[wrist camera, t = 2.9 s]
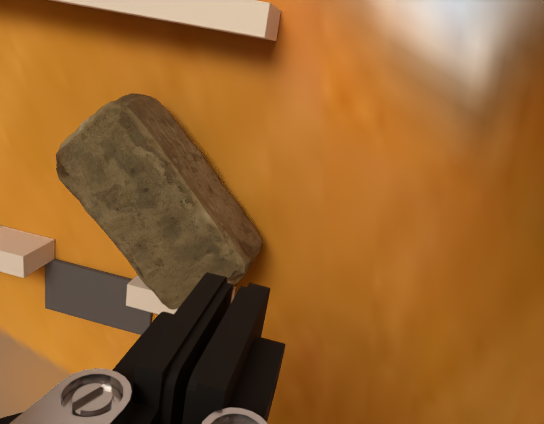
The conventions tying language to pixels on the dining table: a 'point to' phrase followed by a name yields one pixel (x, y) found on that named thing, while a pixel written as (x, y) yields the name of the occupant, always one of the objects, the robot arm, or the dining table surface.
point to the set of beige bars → (171, 8)
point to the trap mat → (92, 296)
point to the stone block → (156, 198)
